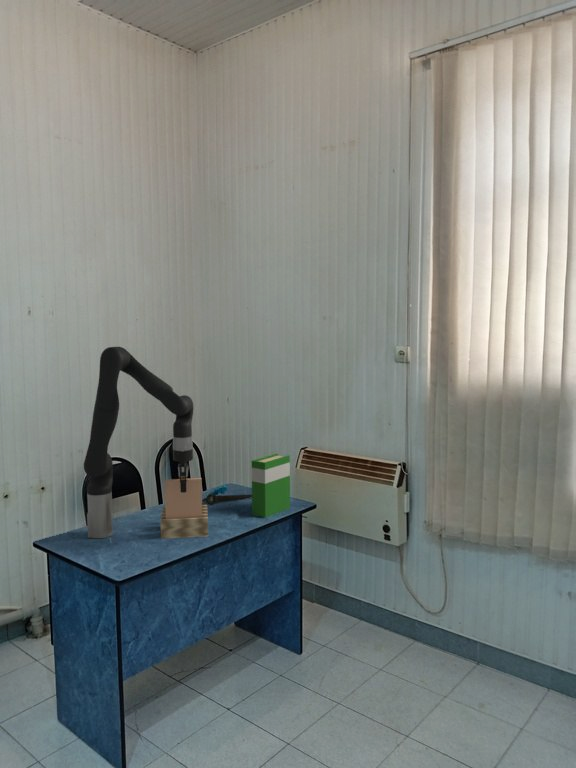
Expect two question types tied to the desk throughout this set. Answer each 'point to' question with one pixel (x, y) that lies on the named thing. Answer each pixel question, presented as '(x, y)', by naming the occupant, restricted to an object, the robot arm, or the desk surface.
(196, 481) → the tall sheet
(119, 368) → the robot arm
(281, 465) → the hardback book
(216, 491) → the gear
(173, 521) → the rack
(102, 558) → the desk surface
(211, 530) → the desk surface
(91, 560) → the desk surface
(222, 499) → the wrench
